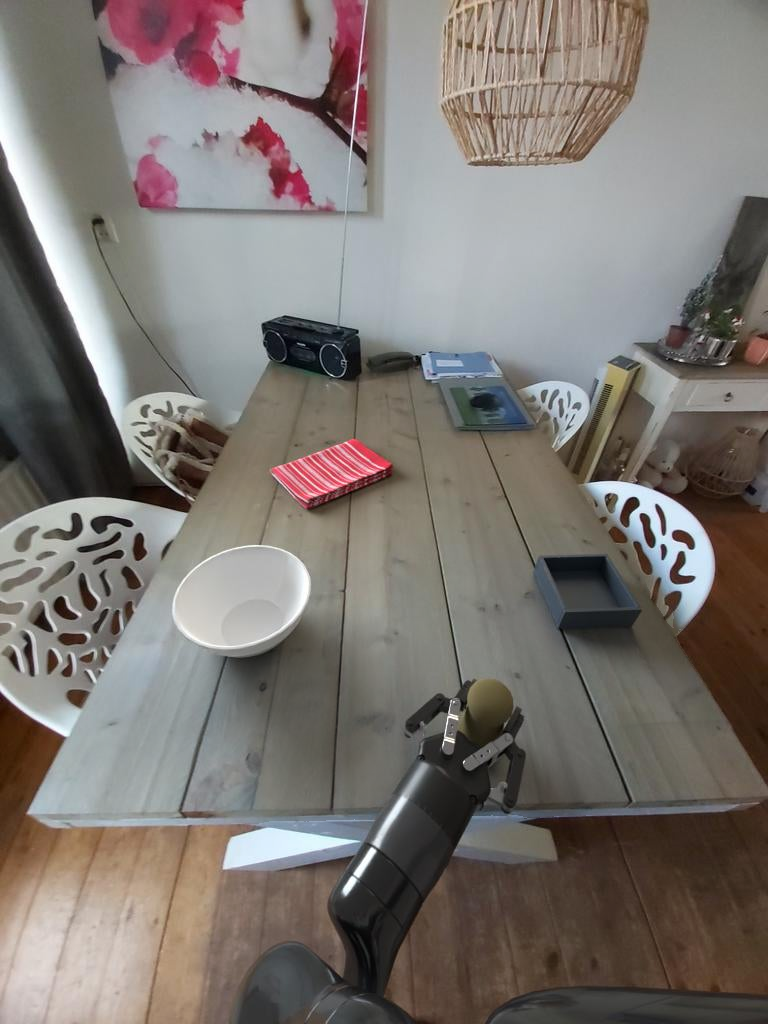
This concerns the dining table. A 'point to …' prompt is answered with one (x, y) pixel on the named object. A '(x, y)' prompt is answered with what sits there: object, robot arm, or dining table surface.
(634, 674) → the dining table surface
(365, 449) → the dish towel
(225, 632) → the bowl
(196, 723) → the dining table surface
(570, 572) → the square tray
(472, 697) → the cork
